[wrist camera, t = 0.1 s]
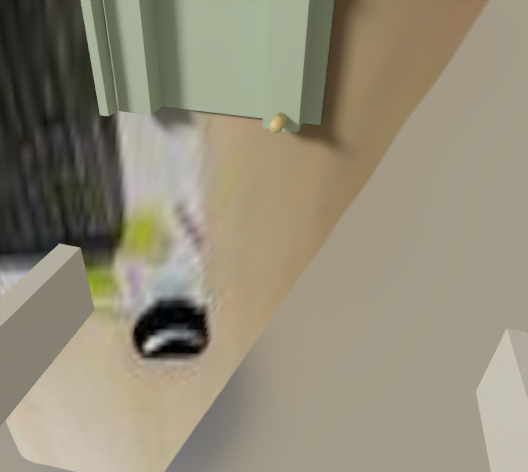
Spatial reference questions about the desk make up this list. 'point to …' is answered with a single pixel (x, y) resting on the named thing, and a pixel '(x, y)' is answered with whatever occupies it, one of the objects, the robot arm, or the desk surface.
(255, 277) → the desk surface
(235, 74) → the carcass
